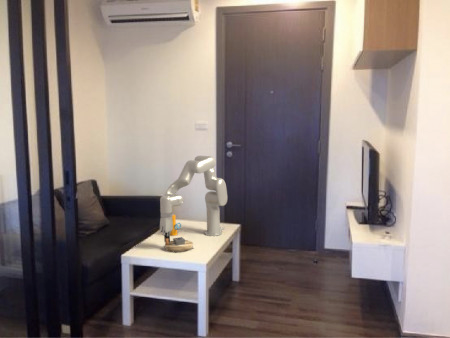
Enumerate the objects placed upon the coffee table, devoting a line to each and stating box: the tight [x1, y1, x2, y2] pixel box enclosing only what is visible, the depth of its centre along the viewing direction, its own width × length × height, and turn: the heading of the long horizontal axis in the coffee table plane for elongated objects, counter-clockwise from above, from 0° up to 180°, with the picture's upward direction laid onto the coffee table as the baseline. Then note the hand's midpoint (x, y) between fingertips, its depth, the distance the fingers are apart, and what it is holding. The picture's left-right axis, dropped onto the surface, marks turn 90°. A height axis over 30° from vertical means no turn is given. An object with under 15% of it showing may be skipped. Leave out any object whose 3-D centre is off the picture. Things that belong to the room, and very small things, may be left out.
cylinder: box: [170, 213, 182, 237], centre depth 314 cm, size 12×10×15 cm
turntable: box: [164, 238, 194, 253], centre depth 282 cm, size 18×18×6 cm
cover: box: [172, 236, 186, 246], centre depth 282 cm, size 6×6×4 cm
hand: (167, 241), depth 284 cm, fingers closed
